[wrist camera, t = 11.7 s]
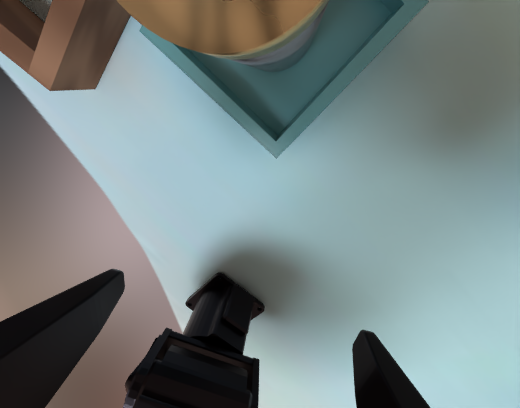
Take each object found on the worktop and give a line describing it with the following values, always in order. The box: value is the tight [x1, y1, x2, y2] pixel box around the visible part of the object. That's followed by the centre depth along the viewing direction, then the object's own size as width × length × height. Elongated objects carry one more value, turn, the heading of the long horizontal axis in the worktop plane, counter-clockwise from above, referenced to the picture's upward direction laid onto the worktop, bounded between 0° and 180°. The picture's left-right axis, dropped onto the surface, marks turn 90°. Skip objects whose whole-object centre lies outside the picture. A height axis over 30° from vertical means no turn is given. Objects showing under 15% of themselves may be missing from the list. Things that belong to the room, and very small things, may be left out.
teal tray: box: [140, 0, 429, 159], centre depth 15 cm, size 11×11×3 cm
